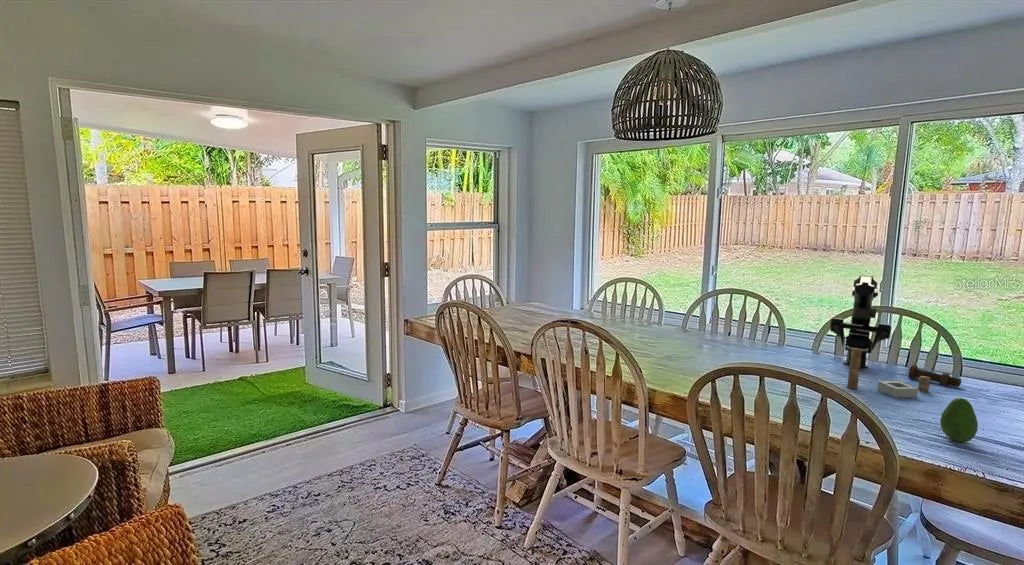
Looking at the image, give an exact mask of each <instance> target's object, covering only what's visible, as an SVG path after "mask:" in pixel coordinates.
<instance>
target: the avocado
mask: <svg viewBox="0 0 1024 565" xmlns="http://www.w3.org/2000/svg"><path fill="white" fill-rule="evenodd" d="M939 423H940V427H941V428H940V429H941V431H942V432H943V433H944V434H945V435H946V437H948V438H949V439H951V440H953V441H955V442H957V443H965V442H969V441H971V440H973V439H974V438H975V436H976V434H977V432H978V428H979V423H978V418H977V414H976V413H975V409H974V407H973V406H972V404H971V403H970V401H969V400H968V399H966V398H963V397H957V398H954V399H953V400H951V401H950V402H949V403H948V404H947V406H946V407H945V409H944V410H943V411H942V413H941V417H940V420H939Z"/></svg>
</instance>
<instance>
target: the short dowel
mask: <svg viewBox="0 0 1024 565" xmlns="http://www.w3.org/2000/svg"><path fill="white" fill-rule="evenodd" d="M918 379H919V380H918V384H917V386H918V390H920V391H919V392H921V391H924V392H923V393H929V392H928V391H930V384H931V381H930V377H926V376H920V378H918Z"/></svg>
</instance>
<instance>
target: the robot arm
mask: <svg viewBox="0 0 1024 565" xmlns="http://www.w3.org/2000/svg"><path fill="white" fill-rule="evenodd" d="M858 276H859V277H858V278H856V279H855V280H854V281H853V285H852V286H853V287H852V291H851V292H852V293H851V296H852V297H853V300H854V302H853V308H852V315H851V322H844V318H837V317H832V318H831V319H830V328H829V331H830V332H833V333H834V335H837V337H838V339H839V340H840V344H841V346H844V343H845V346H844V350H845V351H847V354H846V361H843V362H842V364H844V365H847V366H849V367H850V360H851V352H852V348H857V349H861V350H862V354H861V362H860V369H861V368H869V365H867V364H866V362H867V354H871V353H872V351H874V349H875V348H876V347H877V345H878V344H879V343H880V342H881V341H885V340H888V339H890V337H891V333H892V326H891V324H887V323H879V322H878V324H877V326H872V325H871V326H870V324H871V319H876V317H877V316H876V314H877V308H873V307H872V305H873V304H872V303H873V301H874V299H876V298H877V297H878V296H879V292H878V282H877V281H876V280H875V279H874V276H873V275H871V274H870V275H869V274H866V275H865V274H860V275H858ZM845 329H848V330H849V331H848V335H846V338H845V336H844V335H845V334H844V333H845V332H844V330H845ZM871 333H874V335H875V336H874V339H873V341H872V338H871V337H870V334H871Z"/></svg>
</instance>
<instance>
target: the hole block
mask: <svg viewBox="0 0 1024 565" xmlns="http://www.w3.org/2000/svg"><path fill="white" fill-rule="evenodd" d="M876 390H877V391H879V392H882V393H884V394H886V395H889V396H891V397H894V398H896V399H897V398H918V392H919V391H918V388H917V387H915V386H913V385H910V384H908V383H905V382H902V381H899V380H887V381H886V380H878V382H877V387H876Z"/></svg>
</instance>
